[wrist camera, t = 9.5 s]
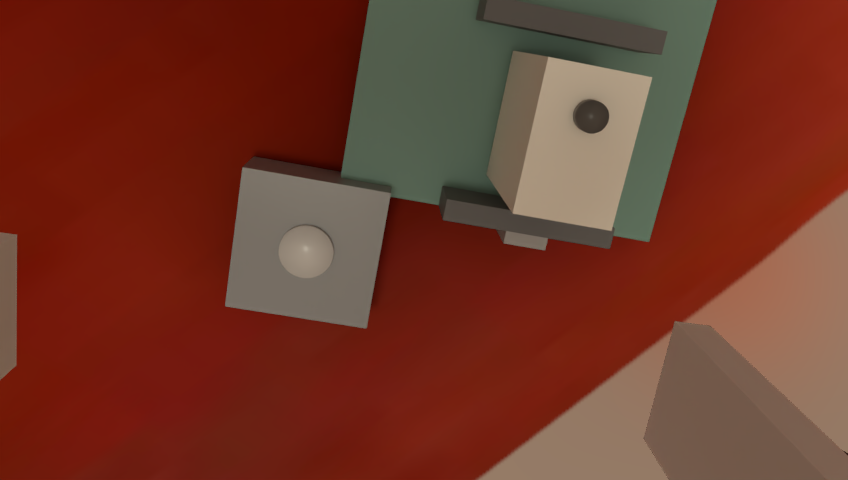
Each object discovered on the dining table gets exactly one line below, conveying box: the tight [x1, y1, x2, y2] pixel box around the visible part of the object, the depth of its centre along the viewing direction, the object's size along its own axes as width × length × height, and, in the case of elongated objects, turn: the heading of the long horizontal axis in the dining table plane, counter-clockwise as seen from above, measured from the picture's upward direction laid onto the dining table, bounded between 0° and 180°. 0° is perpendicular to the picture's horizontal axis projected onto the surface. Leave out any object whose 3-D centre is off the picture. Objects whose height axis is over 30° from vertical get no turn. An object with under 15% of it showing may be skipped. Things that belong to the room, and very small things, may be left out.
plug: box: [486, 51, 652, 231], centre depth 32 cm, size 7×4×9 cm, turn 169°
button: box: [225, 157, 391, 328], centre depth 37 cm, size 7×7×3 cm
